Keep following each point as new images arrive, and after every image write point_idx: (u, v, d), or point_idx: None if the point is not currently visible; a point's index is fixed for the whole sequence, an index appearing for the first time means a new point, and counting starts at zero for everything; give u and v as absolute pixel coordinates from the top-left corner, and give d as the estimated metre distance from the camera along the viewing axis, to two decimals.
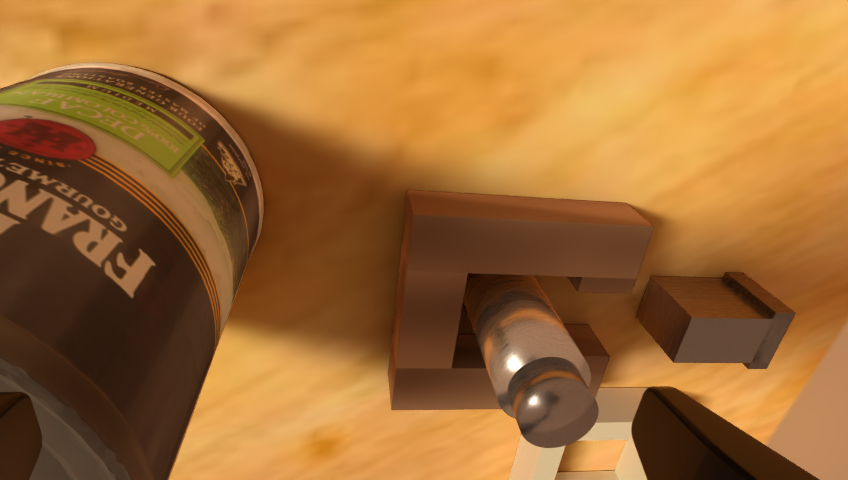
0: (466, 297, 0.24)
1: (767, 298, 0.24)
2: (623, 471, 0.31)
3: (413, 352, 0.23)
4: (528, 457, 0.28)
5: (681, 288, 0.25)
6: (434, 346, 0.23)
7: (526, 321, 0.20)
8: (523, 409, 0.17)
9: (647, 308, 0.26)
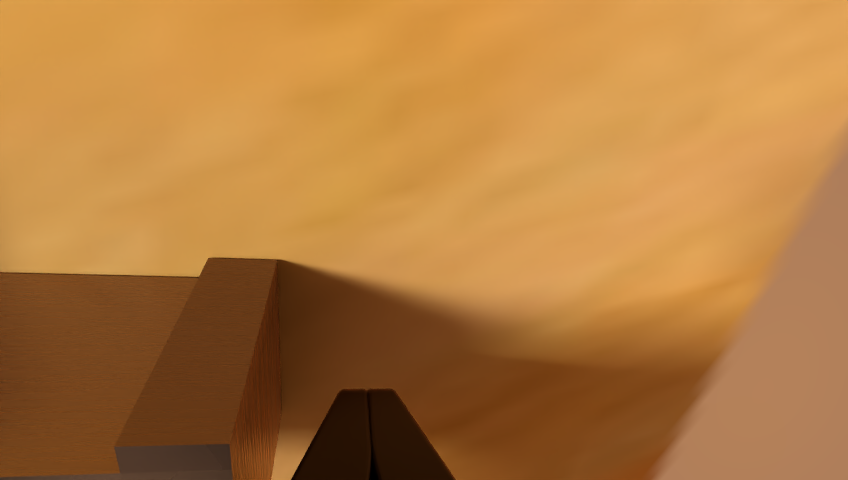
0: None
1: (201, 362, 0.06)
2: None
3: None
4: None
5: None
6: None
7: None
8: None
9: None
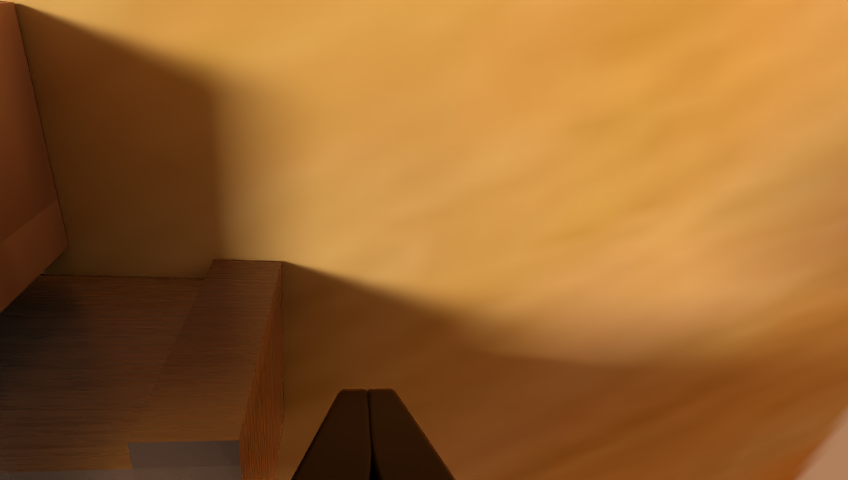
0: None
1: (209, 361, 0.06)
2: None
3: None
4: None
5: None
6: None
7: None
8: None
9: None
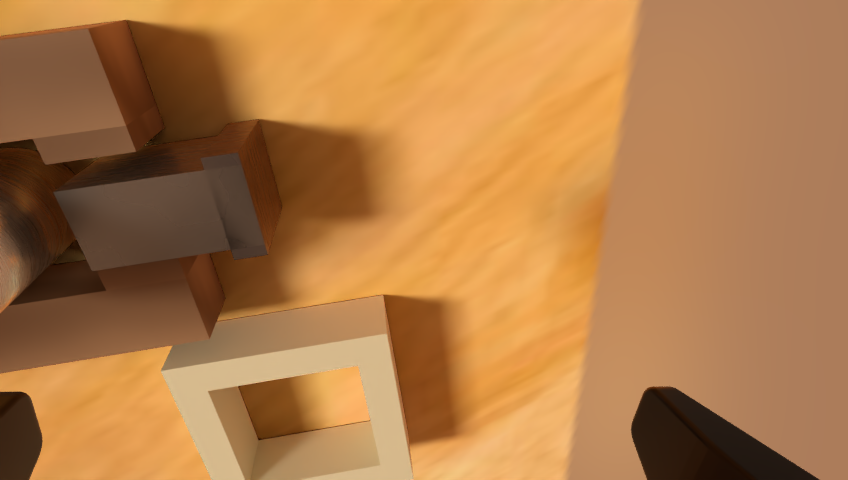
0: None
1: (227, 142, 0.15)
2: None
3: None
4: None
5: (124, 158, 0.16)
6: None
7: None
8: None
9: None
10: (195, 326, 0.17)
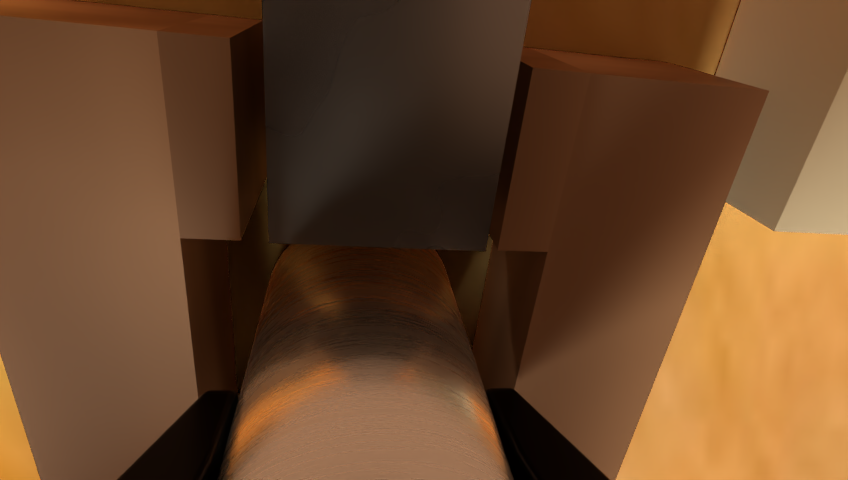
0: None
1: None
2: None
3: None
4: None
5: None
6: None
7: None
8: None
9: None
10: (719, 109, 0.07)
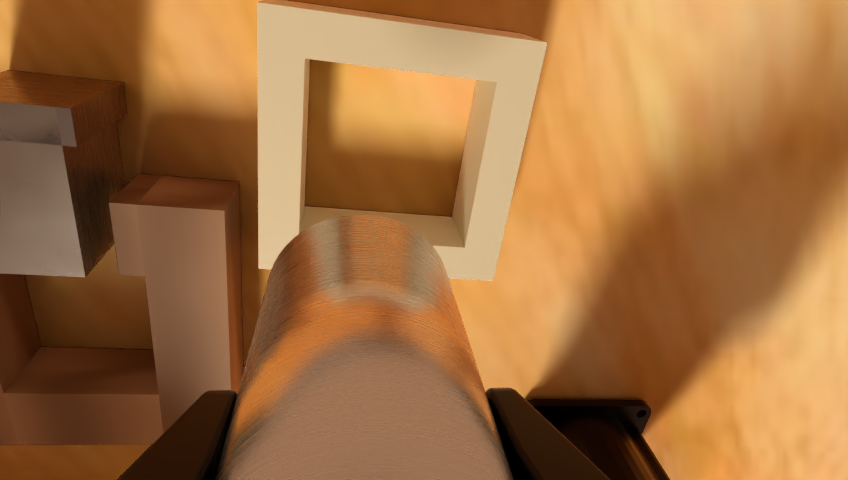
0: None
1: None
2: None
3: (136, 431, 0.19)
4: None
5: None
6: (125, 413, 0.19)
7: None
8: None
9: None
10: (204, 217, 0.16)
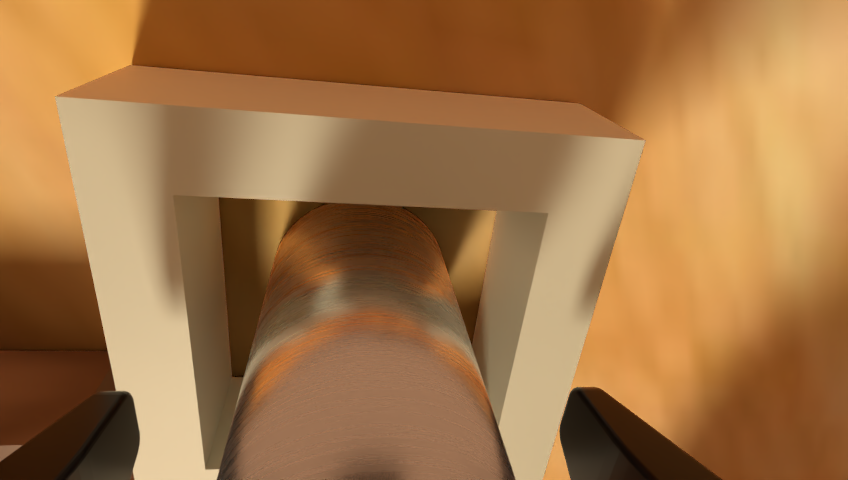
0: None
1: None
2: None
3: None
4: None
5: None
6: None
7: None
8: None
9: None
10: None
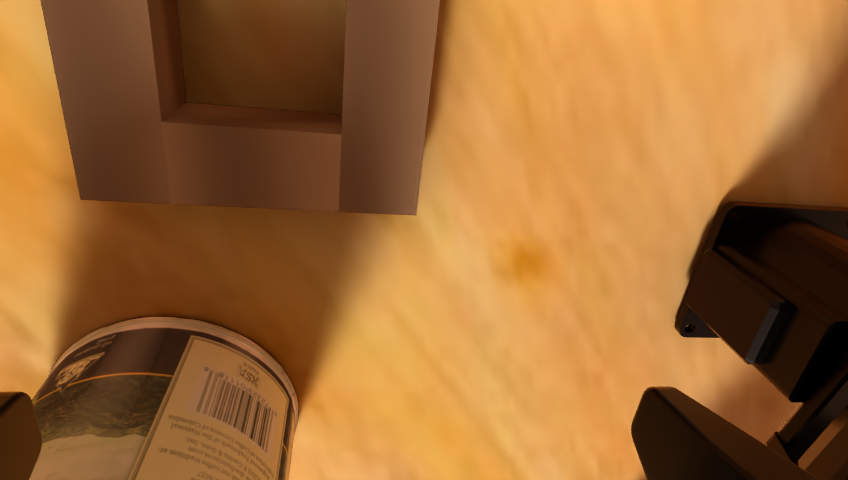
0: None
1: None
2: None
3: (309, 190, 0.16)
4: None
5: None
6: (299, 162, 0.16)
7: None
8: None
9: None
10: None
